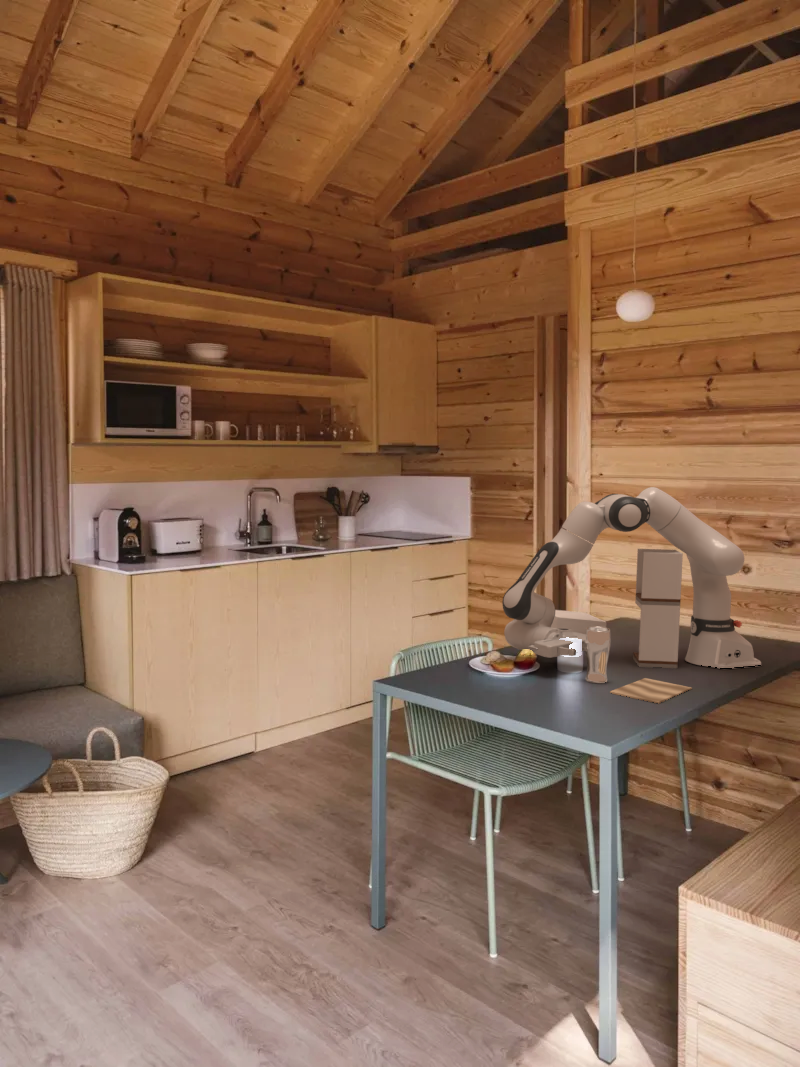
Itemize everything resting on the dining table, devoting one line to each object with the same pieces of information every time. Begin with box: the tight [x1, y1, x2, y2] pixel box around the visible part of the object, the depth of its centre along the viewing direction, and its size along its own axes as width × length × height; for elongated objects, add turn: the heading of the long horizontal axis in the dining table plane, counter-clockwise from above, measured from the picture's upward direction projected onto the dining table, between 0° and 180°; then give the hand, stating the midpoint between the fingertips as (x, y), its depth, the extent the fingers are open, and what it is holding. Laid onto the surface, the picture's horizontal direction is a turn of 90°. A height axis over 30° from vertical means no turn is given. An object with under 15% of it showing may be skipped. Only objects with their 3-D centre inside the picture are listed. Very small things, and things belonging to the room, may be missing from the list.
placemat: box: [609, 677, 693, 705], centre depth 237 cm, size 20×14×1 cm
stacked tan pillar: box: [632, 548, 684, 669], centre depth 268 cm, size 11×11×35 cm
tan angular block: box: [551, 609, 607, 635], centre depth 294 cm, size 14×29×10 cm, turn 39°
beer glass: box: [585, 627, 611, 684], centre depth 247 cm, size 7×7×15 cm
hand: (585, 650), depth 250 cm, fingers open, 8 cm apart
